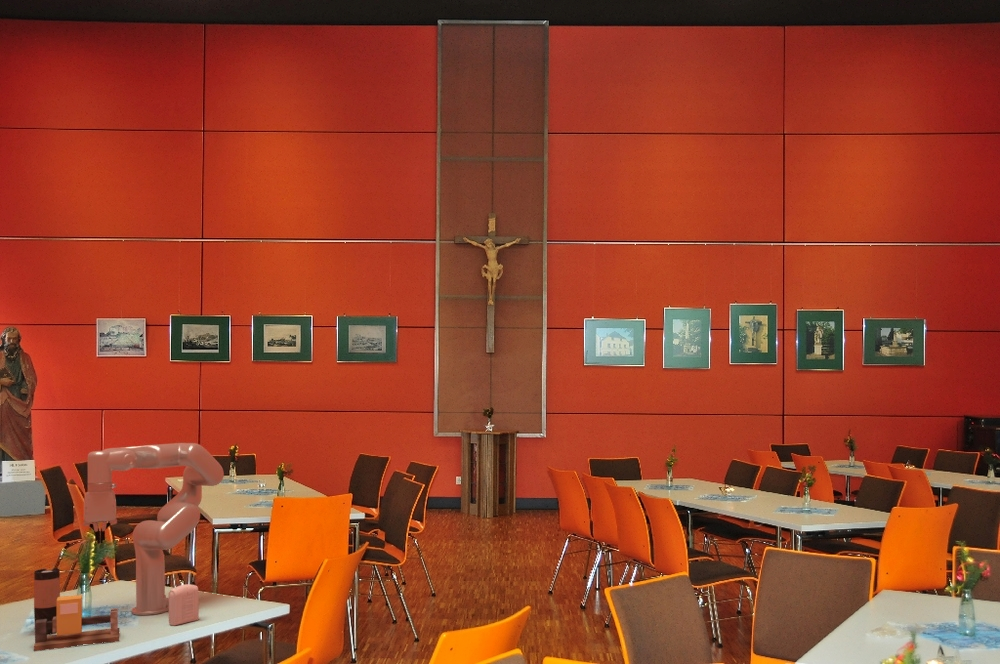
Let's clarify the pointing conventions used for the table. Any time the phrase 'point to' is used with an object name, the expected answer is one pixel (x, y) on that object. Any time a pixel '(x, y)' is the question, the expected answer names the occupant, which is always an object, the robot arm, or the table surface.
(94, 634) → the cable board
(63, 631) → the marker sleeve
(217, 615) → the table surface
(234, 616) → the table surface
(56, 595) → the travel mug
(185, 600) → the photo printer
